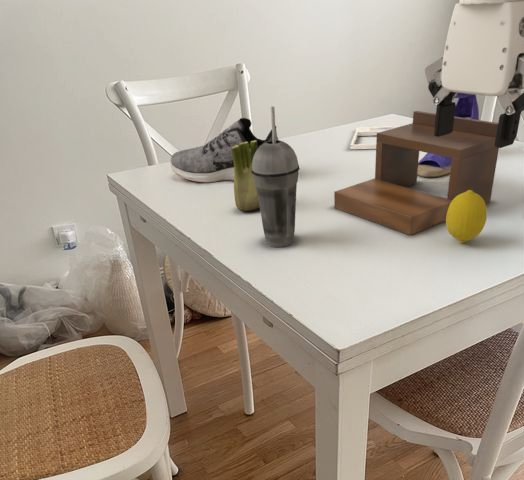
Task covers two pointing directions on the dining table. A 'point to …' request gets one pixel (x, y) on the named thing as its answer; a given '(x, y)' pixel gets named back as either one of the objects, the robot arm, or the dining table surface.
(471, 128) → the stand
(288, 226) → the beverage cup
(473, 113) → the sandal
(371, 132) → the photo frame
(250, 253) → the dining table surface
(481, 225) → the lemon
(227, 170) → the athletic shoe
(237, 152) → the fennel bulb
